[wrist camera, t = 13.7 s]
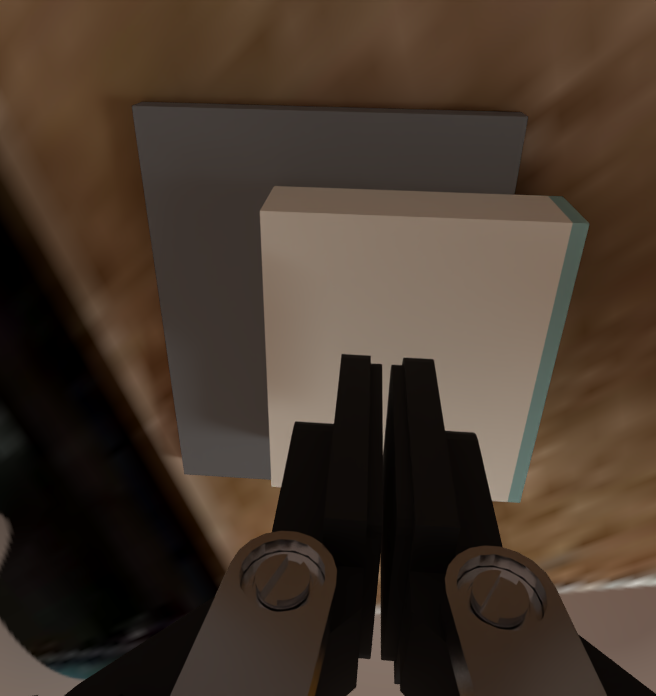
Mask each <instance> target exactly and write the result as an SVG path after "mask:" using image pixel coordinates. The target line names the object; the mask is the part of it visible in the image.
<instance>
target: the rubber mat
mask: <svg viewBox="0 0 656 696" xmlns="http://www.w3.org/2000/svg"><path fill="white" fill-rule="evenodd" d="M132 111H133V118H134V125H135V132H136V139H137V146H138V153H139V160H140V167H141V174H142V181H143V188H144V195H145V202H146V209H147V216H148V223H149V230H150V237H151V244H152V251H153V258H154V265H155V272H156V279H157V286H158V293H159V300H160V307H161V314H162V321H163V328H164V335H165V342H166V349H167V356H168V363H169V370H170V377H171V384H172V391H173V398H174V405H175V412H176V419H177V426H178V433H179V440H180V447H181V454H182V461H183V468H184V474H190V475H206V476H221V477H237V478H253V479H269V480H271V462H270V438H269V415H268V392H267V368H266V345H265V322H264V298H263V275H262V252H261V228H260V210H261V208H262V206H263V204H264V203H265V201H266V199H267V198H268V196H269V194H270V192H271V191H272V189H273V187H274V186H289V187H316V188H344V189H372V190H399V191H427V192H454V193H482V194H509V195H514V194H515V188H516V183H517V177H518V171H519V166H520V160H521V154H522V149H523V143H524V137H525V132H526V126H527V120H528V116H526V115H525V114H523V113H522V112H495V111H458V110H422V109H386V108H349V107H313V106H276V105H240V104H204V103H167V102H140V103H138V104H135V105H133V106H132Z"/></svg>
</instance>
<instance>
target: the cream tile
mask: <svg viewBox="0 0 656 696" xmlns="http://www.w3.org/2000/svg"><path fill="white" fill-rule="evenodd" d="M260 228H261V252H262V275H263V298H264V322H265V345H266V368H267V392H268V415H269V438H270V462H271V485H272V487H281V485H282V480H283V475H284V470H285V465H286V461H287V456H288V451H289V446H290V441H291V436H292V431H293V427H294V423H295V422H296V421H298V422H314V423H330V424H334V419H335V409H336V400H337V391H338V382H339V373H340V363H341V355H342V354H352V355H369V356H371V363H373V364H382V400H383V450H384V439H385V428H386V416H387V405H388V393H389V382H390V371H391V365H402V362H403V358H404V357H405V358H423V359H434V363H435V369H436V376H437V382H438V389H439V395H440V402H441V408H442V414H443V421H444V427H445V431H458V432H474V433H475V434H476V435H477V438H478V442H479V446H480V451H481V455H482V459H483V464H484V468H485V472H486V477H487V481H488V486H489V490H490V494H491V499H492V501H502V502H517V503H520V500H521V496H522V492H523V488H524V484H525V480H526V476H527V472H528V468H529V464H530V460H531V456H532V452H533V448H534V444H535V440H536V436H537V432H538V428H539V424H540V420H541V416H542V412H543V408H544V404H545V400H546V396H547V392H548V388H549V384H550V380H551V376H552V372H553V368H554V364H555V360H556V356H557V352H558V348H559V344H560V340H561V336H562V332H563V328H564V324H565V320H566V316H567V312H568V308H569V304H570V300H571V296H572V292H573V288H574V284H575V280H576V276H577V272H578V268H579V264H580V260H581V256H582V252H583V248H584V244H585V240H586V236H587V232H588V228H589V223H588V222H587V221H586V220H585V219H584V218H583V217H582V216H581V215H580V213H579V212H578V211H577V210H576V209H575V208H574V207H573V206H572V205H571V204H570V203H569V202H568V201H567V200H566V199H565V198H564V197H563V196H537V195H509V194H482V193H454V192H427V191H399V190H372V189H344V188H316V187H289V186H274V187H273V189H272V191H271V192H270V194H269V196H268V198H267V199H266V201H265V203H264V204H263V206H262V208H261V210H260Z"/></svg>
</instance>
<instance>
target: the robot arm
mask: <svg viewBox="0 0 656 696" xmlns="http://www.w3.org/2000/svg"><path fill="white" fill-rule="evenodd" d="M380 554H381V660H388V661H394V683H395V684H400V691H401V692H402V693H403V694H404V695H405V696H656V694H655V693H654V692H653V691H651V690H650V689H649V688H647V687H646V686H645V685H643V684H642V683H641V682H639V681H638V680H637V679H636V678H634V677H633V676H632V675H631V674H629V673H628V672H626V671H625V670H624V669H622V668H621V667H620V666H619V665H617V664H616V663H615V662H614V661H612V660H611V659H609V658H608V657H607V656H606V655H604V654H603V653H602V652H601V651H599V650H598V649H597V648H595V647H594V646H592V645H591V644H590V643H589V642H587V641H586V640H585V639H584V638H582V637H581V636H580V635H578V633H577V631H576V629H575V627H574V625H573V623H572V621H571V619H570V617H569V614H568V612H567V610H566V608H565V606H564V604H563V602H562V600H561V598H560V596H559V593H558V591H557V589H556V587H555V586H554V584H553V583H552V581H551V580H550V578H549V577H548V575H547V574H546V572H544V571H543V570H542V569H541V568H540V567H539V566H538V565H537V564H536V563H535V562H534V561H532V560H530V559H529V558H527V557H525V556H523V555H522V554H520V553H518V552H516V551H513V550H509V549H506V548H503V547H502V543H501V538H500V534H499V529H498V525H497V521H496V516H495V512H494V508H493V503H492V499H491V494H490V490H489V486H488V481H487V477H486V472H485V468H484V464H483V459H482V455H481V451H480V446H479V442H478V438H477V435H476V434H475V433H474V432H458V431H445V427H444V421H443V414H442V408H441V402H440V395H439V389H438V382H437V376H436V369H435V363H434V359H423V358H405V357H404V358H403V362H402V365H391V371H390V382H389V393H388V405H387V416H386V428H385V439H384V450H383V400H382V364H373V363H371V356H369V355H352V354H342V355H341V363H340V373H339V382H338V391H337V400H336V409H335V419H334V424H330V423H314V422H298V421H296V422H295V423H294V427H293V431H292V436H291V441H290V446H289V451H288V456H287V461H286V465H285V470H284V475H283V480H282V485H281V490H280V495H279V500H278V505H277V510H276V515H275V519H274V524H273V529H272V532H271V533H266V534H263V535H261V536H259V537H257V538H254V539H252V540H250V541H249V542H248V543H247V544H246V545H244V546H243V547H242V548H241V549H240V550H239V551H238V552H237V554H236V555H235V557H234V558H233V560H232V561H231V563H230V565H229V567H228V569H227V572H226V574H225V576H224V578H223V580H222V583H221V585H220V587H219V589H218V591H217V594H216V596H215V597H213V598H212V599H210V600H208V601H207V602H205V603H204V604H202V605H201V606H199V607H198V608H196V609H194V610H193V611H191V612H190V613H188V614H187V615H185V616H184V617H182V618H181V619H179V620H177V621H176V622H174V623H173V624H171V625H170V626H168V627H167V628H165V629H163V630H162V631H160V632H159V633H157V634H156V635H154V636H153V637H151V638H149V639H148V640H146V641H145V642H143V643H142V644H140V645H139V646H137V647H135V648H134V649H132V650H131V651H129V652H128V653H126V654H125V655H123V656H122V657H120V658H118V659H117V660H115V661H114V662H112V663H111V664H109V665H108V666H106V667H104V668H103V669H101V670H100V671H98V672H97V673H95V674H94V675H92V676H90V677H89V678H87V679H86V680H84V681H83V682H81V683H80V684H78V685H77V686H76V687H74V688H73V689H72V690H71V691H69V692H68V693H67V694H66V695H65V696H347V695H348V694H349V693H350V692H351V691H352V690H353V689H354V688H356V682H357V669H358V658H365V659H370V657H371V648H372V637H373V627H374V616H375V606H376V595H377V585H378V574H379V564H380ZM34 696H38V695H34Z"/></svg>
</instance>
